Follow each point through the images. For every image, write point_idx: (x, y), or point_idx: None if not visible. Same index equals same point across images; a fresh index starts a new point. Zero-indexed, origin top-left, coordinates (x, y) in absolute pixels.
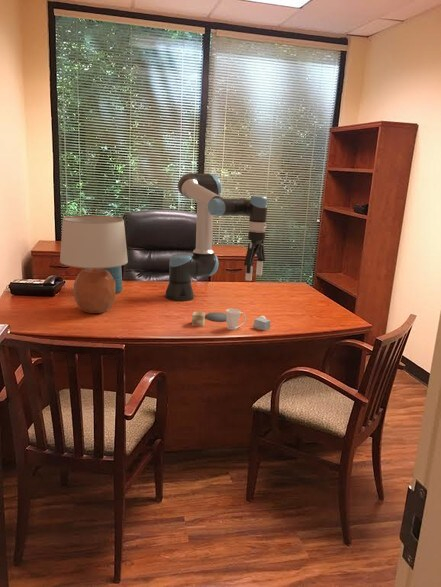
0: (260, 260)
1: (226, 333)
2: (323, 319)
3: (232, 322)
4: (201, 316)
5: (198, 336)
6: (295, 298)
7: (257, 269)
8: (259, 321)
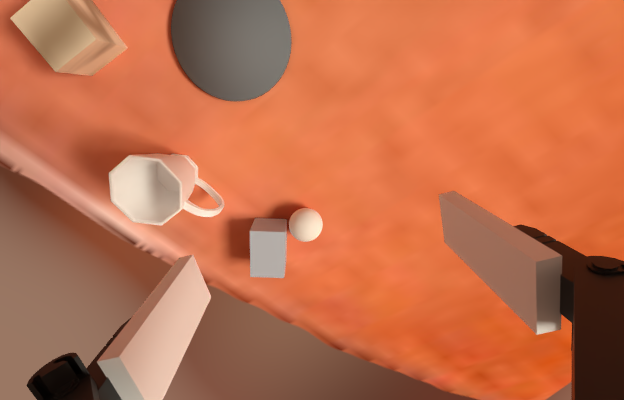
0: (570, 306)
1: None
2: (506, 321)
3: (149, 193)
4: (52, 63)
5: (6, 145)
6: None
7: (466, 225)
8: (250, 251)
